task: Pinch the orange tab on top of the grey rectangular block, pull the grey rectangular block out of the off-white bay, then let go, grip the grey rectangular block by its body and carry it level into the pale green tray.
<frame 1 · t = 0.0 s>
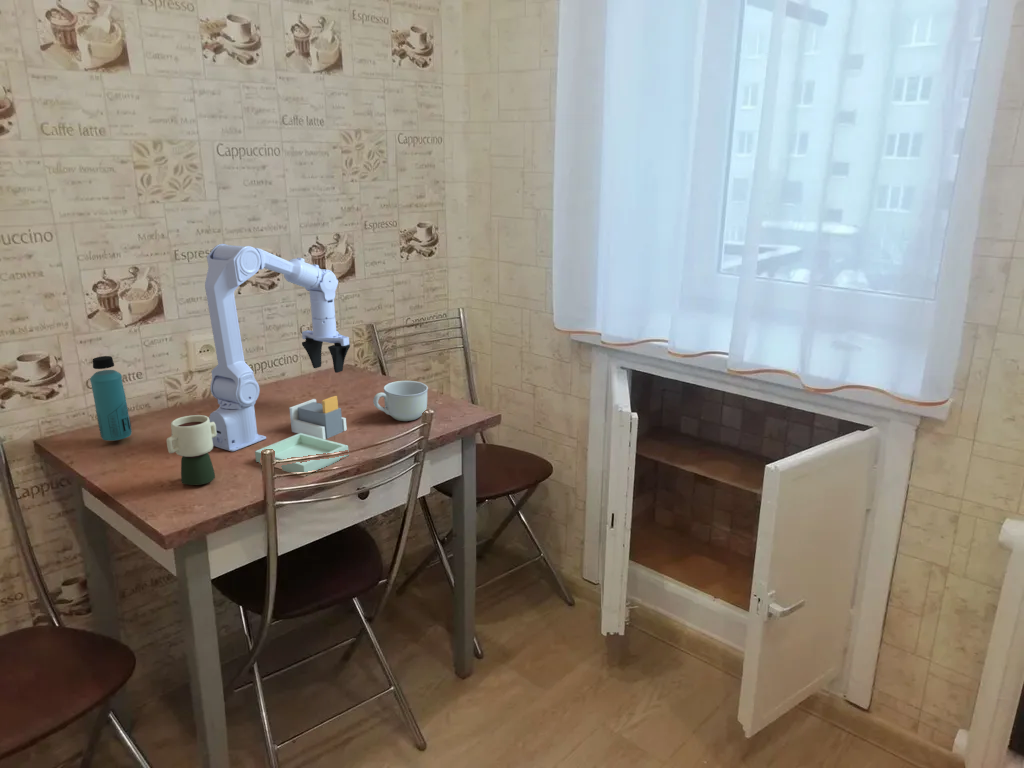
hand: (327, 369, 187), 10 cm above the table, tool pointing down, fingers open, 7 cm apart
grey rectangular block: (321, 432, 173), resting in bay
character mug: (198, 482, 147), on the table
beverage bottle: (117, 442, 168), on the table
tray: (302, 459, 158), on the table
teacup: (401, 418, 182), on the table
bay: (321, 431, 173), on the table
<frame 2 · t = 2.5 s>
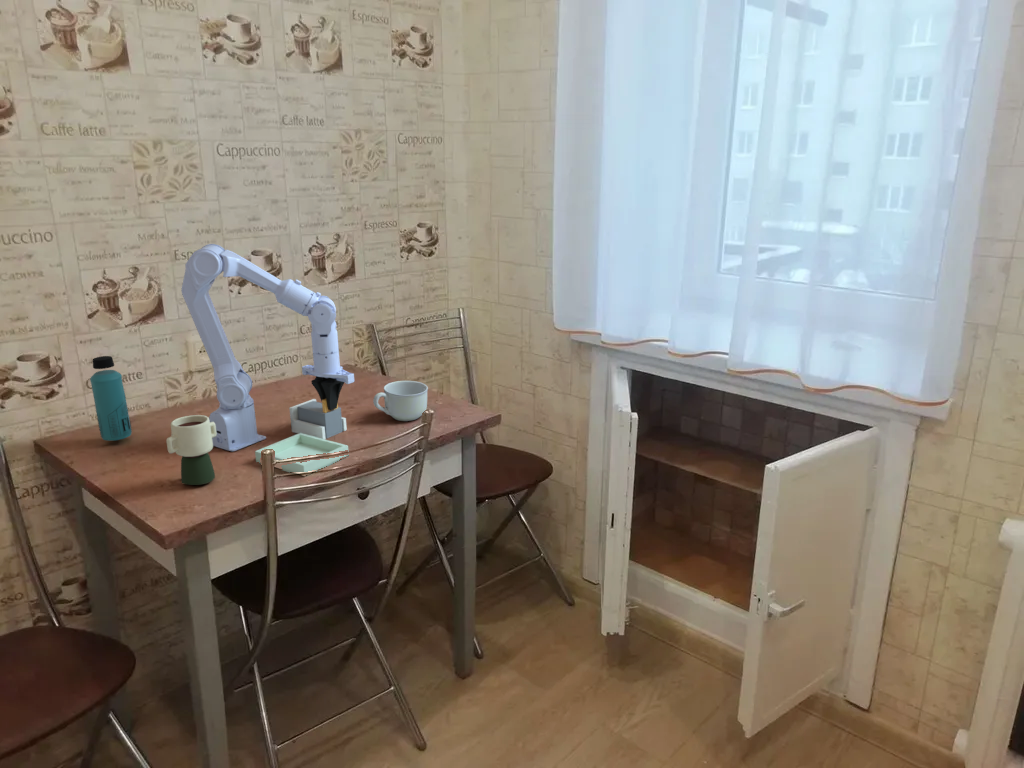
hand: (330, 408, 170), 6 cm above the table, tool pointing down, fingers closed, pressing on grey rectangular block
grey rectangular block: (321, 431, 173), resting in bay, touching gripper
everything else where it was.
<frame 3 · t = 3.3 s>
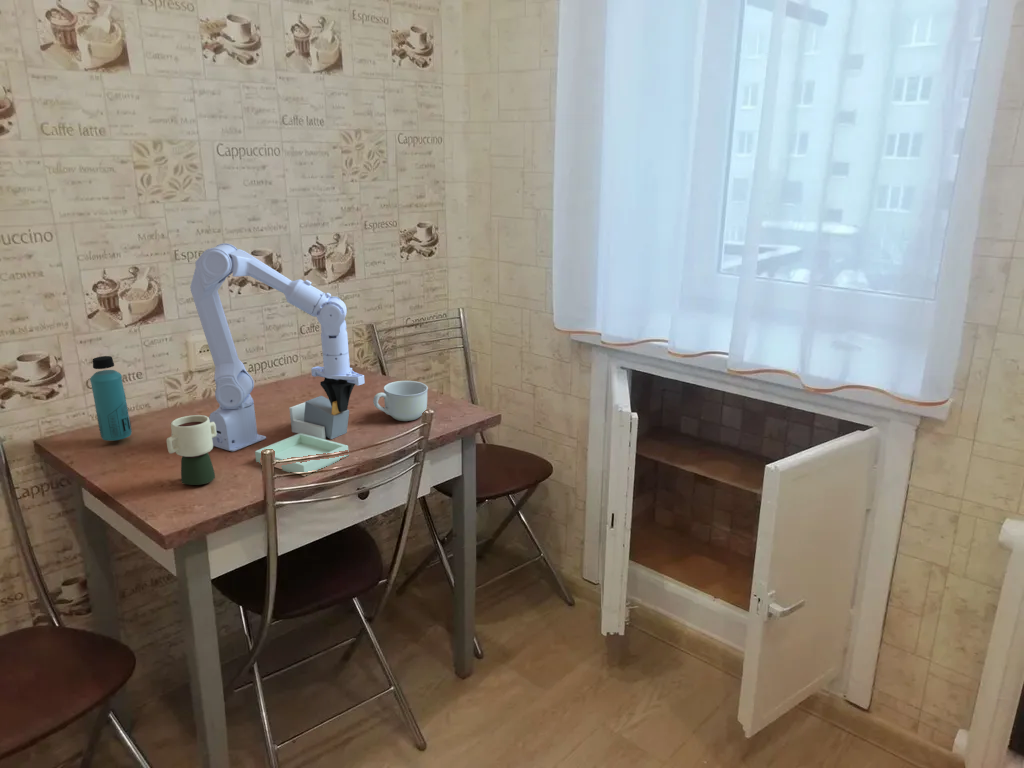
hand: (340, 410, 168), 7 cm above the table, tool pointing down, fingers closed, pressing on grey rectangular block
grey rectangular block: (325, 428, 172), point 1 cm above the table, tilted 13°, touching gripper
everything else where it was.
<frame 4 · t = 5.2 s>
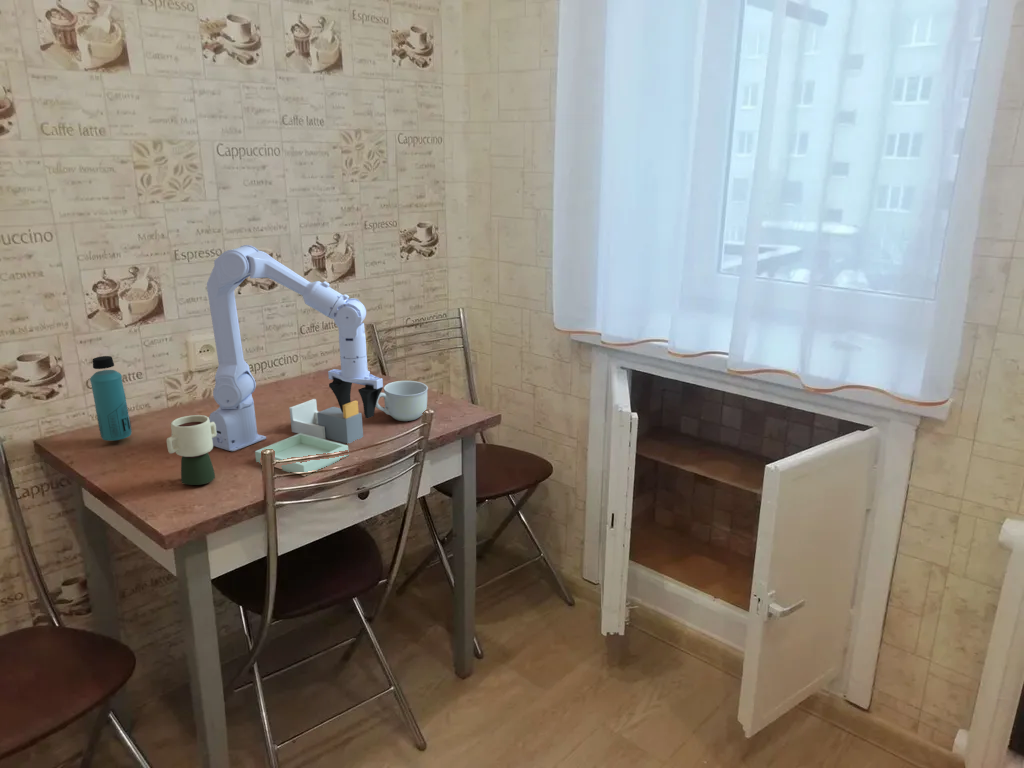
hand: (357, 414, 165), 7 cm above the table, tool pointing down, fingers open, 7 cm apart
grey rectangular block: (341, 437, 170), on the table
everything else where it was.
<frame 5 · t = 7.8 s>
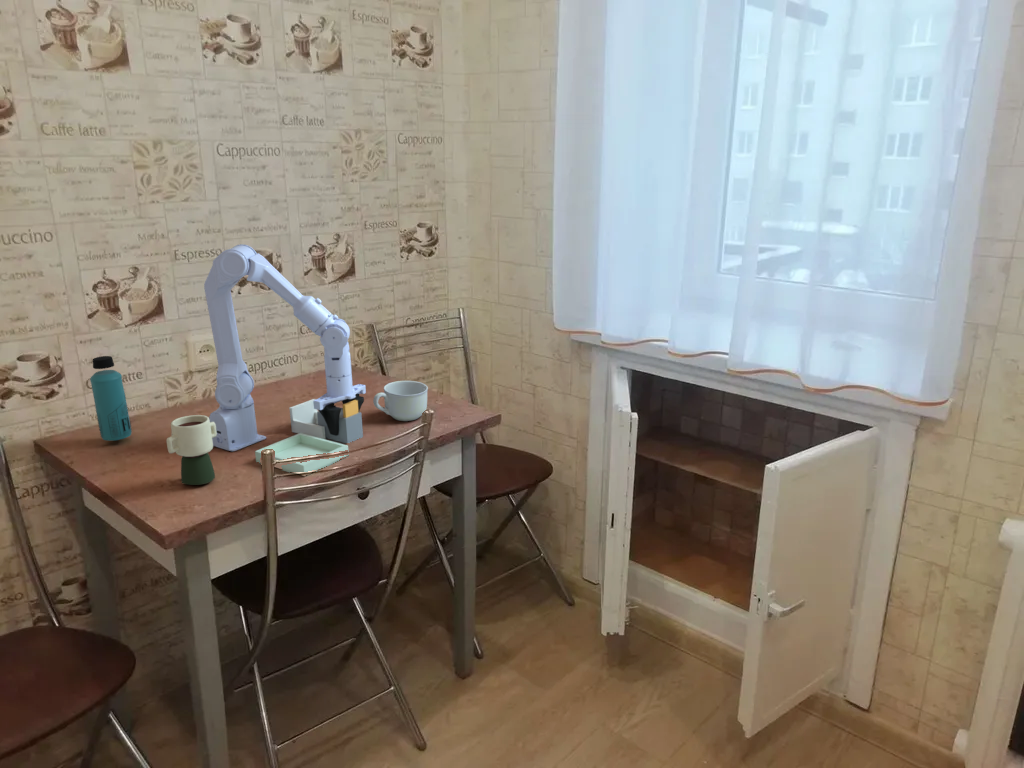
hand: (343, 430, 169), 2 cm above the table, tool pointing down, fingers closed on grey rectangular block, 5 cm apart
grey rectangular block: (341, 436, 170), on the table, touching gripper
everything else where it was.
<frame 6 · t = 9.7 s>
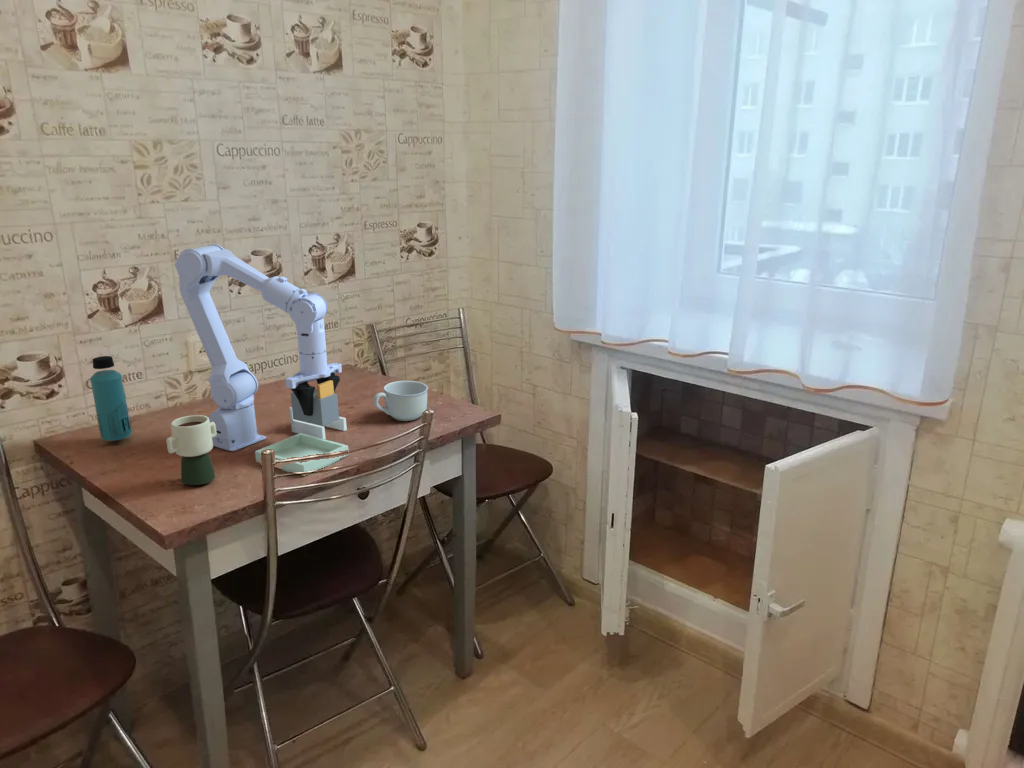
hand: (317, 411, 161), 9 cm above the table, tool pointing down, fingers closed on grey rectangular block, 5 cm apart
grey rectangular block: (316, 419, 162), point 7 cm above the table, touching gripper
everything else where it was.
when the fingers open (3 cm above the table, at t = 11.7 s): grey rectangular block stays where it is, resting on tray.
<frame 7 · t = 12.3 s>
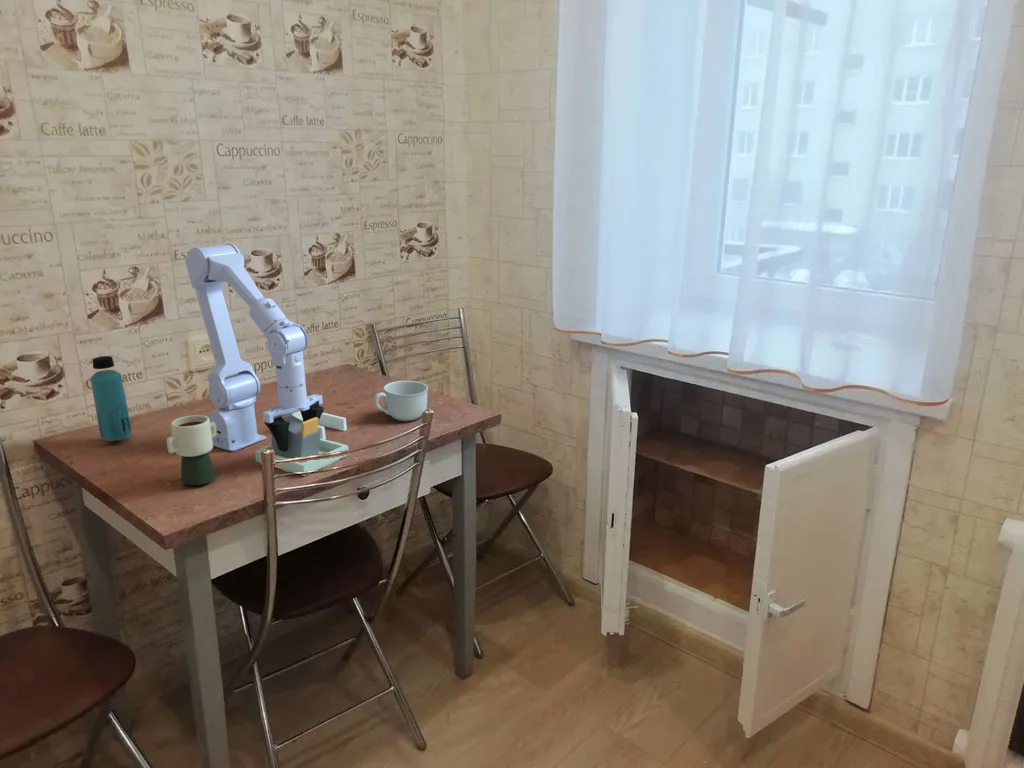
hand: (297, 444, 157), 3 cm above the table, tool pointing down, fingers open, 7 cm apart
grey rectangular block: (294, 450, 158), point 2 cm above the table, tilted 13°, touching tray
everything else where it was.
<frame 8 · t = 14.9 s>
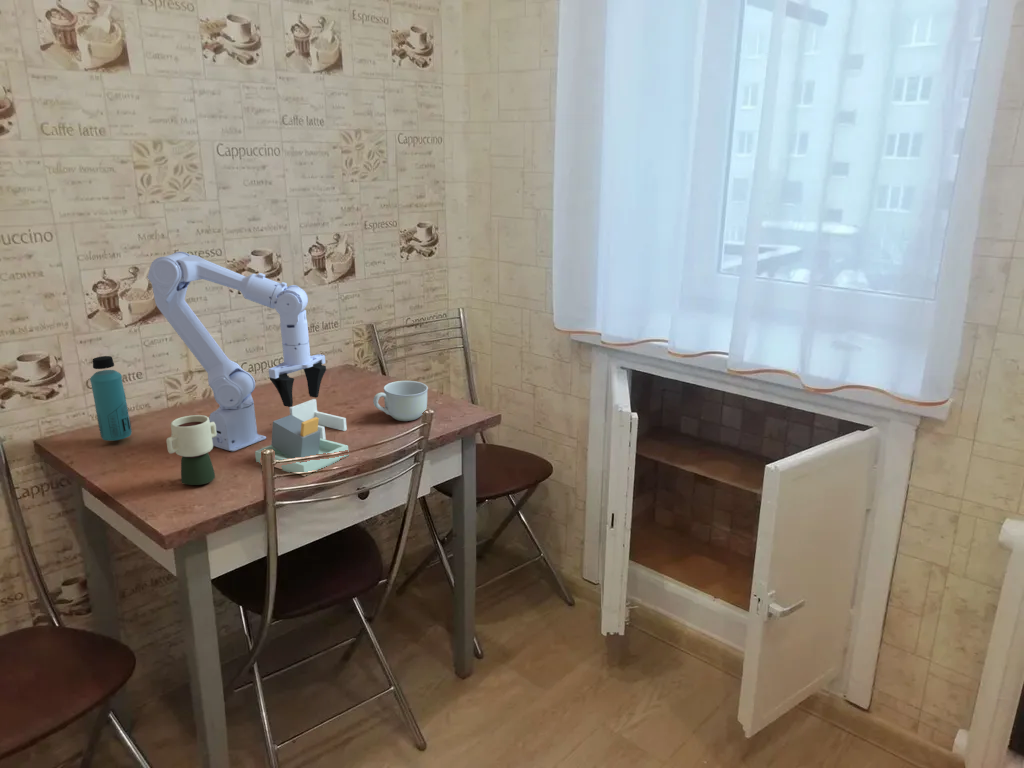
hand: (301, 401, 165), 9 cm above the table, tool pointing down, fingers open, 7 cm apart
nothing on the table moved.
at the end: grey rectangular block inside the target area on the tray (2.3 cm from its centre), point 1.5 cm above the tray's base; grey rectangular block tilted 13°; the gripper is holding nothing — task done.
